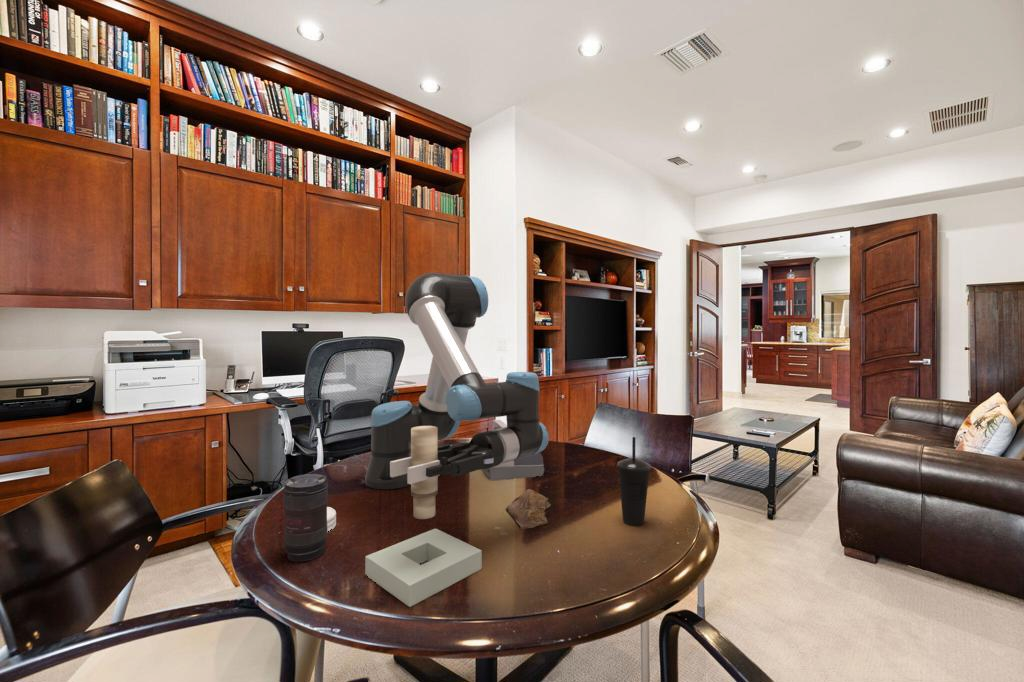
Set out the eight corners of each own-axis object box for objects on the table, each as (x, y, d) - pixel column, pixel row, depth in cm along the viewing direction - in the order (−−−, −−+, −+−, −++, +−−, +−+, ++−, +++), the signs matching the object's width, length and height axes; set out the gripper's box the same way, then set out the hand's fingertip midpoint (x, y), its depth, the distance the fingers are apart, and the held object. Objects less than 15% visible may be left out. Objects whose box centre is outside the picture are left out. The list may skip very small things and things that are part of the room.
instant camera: (478, 461, 155) (478, 418, 155) (536, 459, 157) (536, 417, 157) (480, 481, 134) (480, 432, 134) (548, 479, 136) (548, 430, 136)
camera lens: (282, 567, 84) (281, 488, 84) (285, 548, 91) (284, 476, 91) (328, 559, 87) (328, 483, 87) (327, 541, 94) (327, 471, 94)
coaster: (288, 542, 94) (288, 526, 94) (287, 525, 103) (287, 510, 103) (338, 533, 99) (338, 517, 99) (333, 517, 108) (333, 502, 108)
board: (365, 575, 81) (365, 556, 81) (435, 544, 93) (435, 528, 93) (409, 607, 72) (409, 585, 72) (481, 568, 84) (481, 550, 84)
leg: (405, 514, 82) (405, 428, 82) (427, 507, 86) (427, 424, 85) (421, 522, 79) (421, 432, 78) (443, 514, 82) (443, 428, 82)
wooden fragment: (546, 531, 100) (546, 526, 100) (498, 528, 102) (498, 523, 102) (552, 492, 126) (552, 488, 126) (514, 490, 127) (514, 486, 127)
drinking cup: (650, 517, 107) (651, 435, 107) (649, 530, 100) (650, 442, 100) (618, 513, 110) (618, 432, 109) (615, 525, 102) (615, 439, 102)
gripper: (524, 474, 89) (430, 507, 72) (465, 457, 101) (373, 482, 84) (524, 437, 89) (430, 461, 72) (465, 425, 101) (373, 443, 84)
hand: (399, 472), depth 78 cm, fingers closed on leg, 5 cm apart
